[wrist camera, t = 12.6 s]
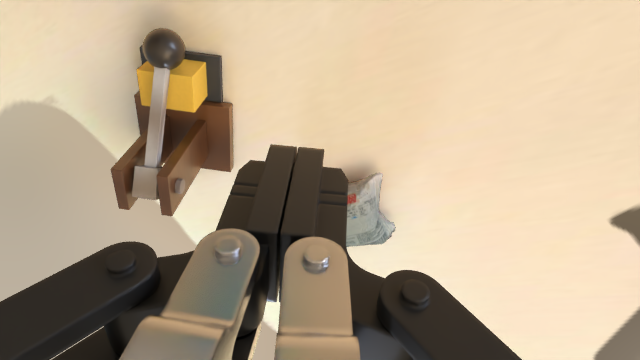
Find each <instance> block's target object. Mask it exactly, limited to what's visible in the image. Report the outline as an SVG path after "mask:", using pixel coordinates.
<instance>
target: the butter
mask: <svg viewBox="0 0 640 360" xmlns="http://www.w3.org/2000/svg"><path fill="white" fill-rule="evenodd" d="M140 53H141V60H142V66H140V67H139V68H138V69H137V77H138V84H139V90H140V97H141V104H142V105H144V106H150V105H151V95H152V85H153V75H154V67H153V66H152V65H151V64H150V63H149V62H148V61H147V60H146V58H145V56H144V53H143V45H142V46H141V47H140ZM204 100H206V101H214V102H222V101H223V93H222V60H221V56H217V55H210V54H203V53H195V52H188V51H185V57H184V60H183V61H182V63H181V64H180V65H179V66H178V67H176V68H175V69H172V70H170V77H169V87H168V96H167V106H166V109H172V110H180V111H187V112H195V111H196V110H197V109H198V107H199V106H200V105H201V104H202V102H203V101H204Z"/></svg>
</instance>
